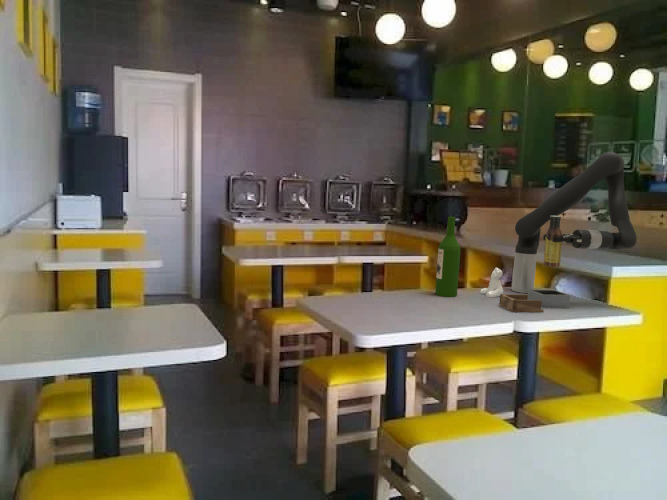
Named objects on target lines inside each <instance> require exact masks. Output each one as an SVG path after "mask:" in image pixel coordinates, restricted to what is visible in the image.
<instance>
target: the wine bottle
mask: <svg viewBox="0 0 667 500" xmlns="http://www.w3.org/2000/svg"><path fill="white" fill-rule="evenodd" d="M455 224H456V216H448V217H447V226H446V235H445V237H444V238H443V239H442V241H441V242H440V243H439V244H438V245H439V246H438V248H437V250H438V251H437V264H436V276H435V277H436V279H435V289H434V290H435V292H434V293H435V295H436V296H438V297H443V298H444V297H446V298H455V297H457V296H458V287H459V285H458V284H459V274H460V261H461V259H460V258H461V247H460V246H461V245H460V244H459V242H458V240H457V238H456V236H455V231H456V230H455V229H456V225H455Z"/></svg>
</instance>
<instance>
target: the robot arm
mask: <svg viewBox="0 0 667 500" xmlns="http://www.w3.org/2000/svg"><path fill="white" fill-rule="evenodd" d="M624 168H625V161H624V158H623V157H622V155H620V154H619V153H617V152H614V151H606V152H604V153H602V154H601V155H600V156H598V157H597V159H595V160H594V161H593V162H592V163H591V165H589V166H588V167H587V168H586V169H585V170H584V171H582V172H581V173H579V174H578V175H577V176H575V177H573V178H571V179H570V180H569V181H568V182H566V183H565V184H564V185H562V186H561V187H560V188H559V189H557V190H555V192H554V193H552V195H550V196H549V197H548V198H546V199H545V200H544V201H543V202H542V203H541V204H540V205H539V206H538V207H536V208H534V209H533V210H532V211H531V212H529V213H527V214H526V215H524V216H522V217H520V218H519V219H518V220H517V221H516V223H515V225H514V231H515V233H516V235H518V240H517V243H516V245H515V247H514V249H515V250H514V260H513V261H514V262H513V269H512V277H511V278H512V279H511V291H513V292H516V293H520V294H521V293H523V294H528V290H535V280H536V277H535V276H536V267H537V257H538V254H537V253H538V250H539V245H540V239H541V238H540V237H541V229H542V227H543V226H544V225H545V224H546V223H549V222H550V216H560V215H562V214H563V213H565V212H566V211H567V212H568V210H570V209H571V208H572V207H574V206H575V205H576V204H578V203H579V202H580V201H582V200H583V199H584V198H585V197H586V195H588V193H589V192H590V191H591V190H592V188H594V187H595V186H596V185H598V183H600V182H602V181H603V180H604V179H605V181H606V185H607V196H608V199H607V202H608V205H607V206H608V214H609V215H608V216H609V221H610V224H611V226H612V227H616V228H617V230H618V231H617V232H610V231H606V230H594V229H575V230H574V231H573V232H572V233H569V232H568V233H567V232H566V233H562V236H553V239H552V241H553V242H562V243H563V244H565V245H566V244H567V245H572V247H573V248H575V249H580V250H581V249H583V250H584V249H585V250H588V249H589V250H590V249H592V250H593V249H594V250H595V249H608V250H609V249H610V250H627V249H632V248H633V247H635V246H636V244H637V238H638V237H637V234H636V231H635V229H634V226H633V224H632V222H631V220H630V215H629V209H628V208H629V207H628V202H627V197H626V192H625V191H626V190H625V181H624V180H625V179H624V178H625V176H624V174H625V173H624V172H625V170H624ZM546 234H547V233H546ZM546 234H543V238H542V239H543V240H544V241H545V237H546Z"/></svg>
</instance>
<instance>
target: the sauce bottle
mask: <svg viewBox="0 0 667 500" xmlns="http://www.w3.org/2000/svg"><path fill="white" fill-rule="evenodd" d="M560 224H561V216H560V215H558V216H550V220H549V227H548V229H547V232H546V237H545V240H544V251H543V253H544V255H543V265H544V266H546V267H552V268H553V267H555V268H556V267H560V265H561V259H562V242H553V241H552V239H553V236H562V234H563V233H562V230H561V228H560V227H561V226H560Z"/></svg>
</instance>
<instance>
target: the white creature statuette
mask: <svg viewBox="0 0 667 500" xmlns="http://www.w3.org/2000/svg"><path fill="white" fill-rule="evenodd" d="M502 276H503V271H502V270H501V269H500V268H498V267H495V268H494V269H493V271H492V273H491V275H490V277H491V278H490V280H489V281H488V287H487V288H486V287H484V288H482V289H480V295H486V297H487V298H500V294H504V288H503V286H502V282H501V280H500V278H501V277H502Z"/></svg>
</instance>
